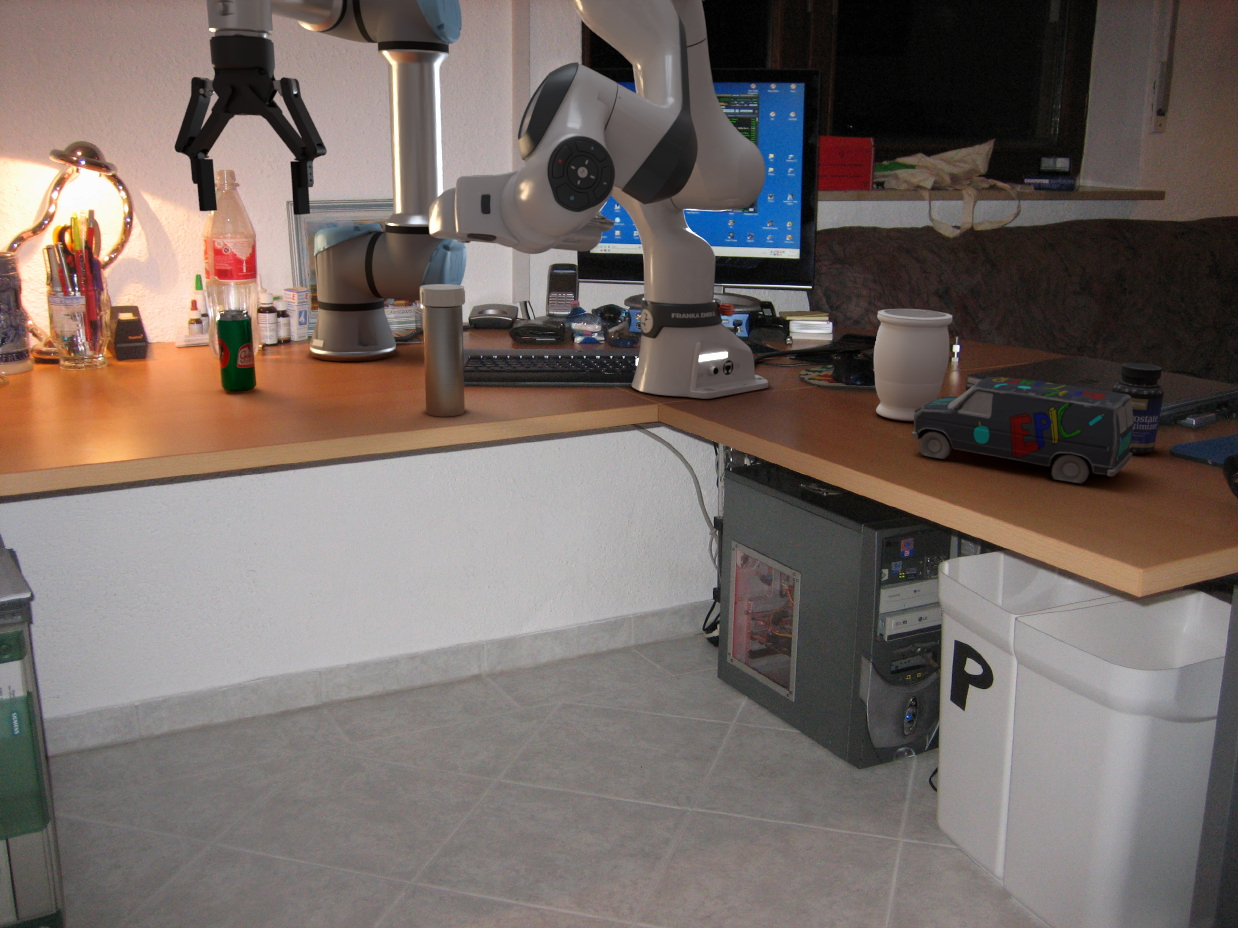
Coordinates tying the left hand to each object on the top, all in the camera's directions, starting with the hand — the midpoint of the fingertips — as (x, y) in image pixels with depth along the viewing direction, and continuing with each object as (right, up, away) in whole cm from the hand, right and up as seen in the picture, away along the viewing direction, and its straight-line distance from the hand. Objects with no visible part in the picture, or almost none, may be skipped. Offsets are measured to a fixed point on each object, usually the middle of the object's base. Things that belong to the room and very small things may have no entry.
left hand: (254, 213), depth 138 cm
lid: (+22, -8, +11) cm, 26 cm away
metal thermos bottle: (+22, -25, +16) cm, 37 cm away
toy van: (+97, -32, -4) cm, 102 cm away
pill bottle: (+114, -31, +3) cm, 118 cm away
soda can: (-11, -21, +26) cm, 36 cm away
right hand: (+32, -5, -6) cm, 33 cm away
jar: (+89, -26, +18) cm, 94 cm away
